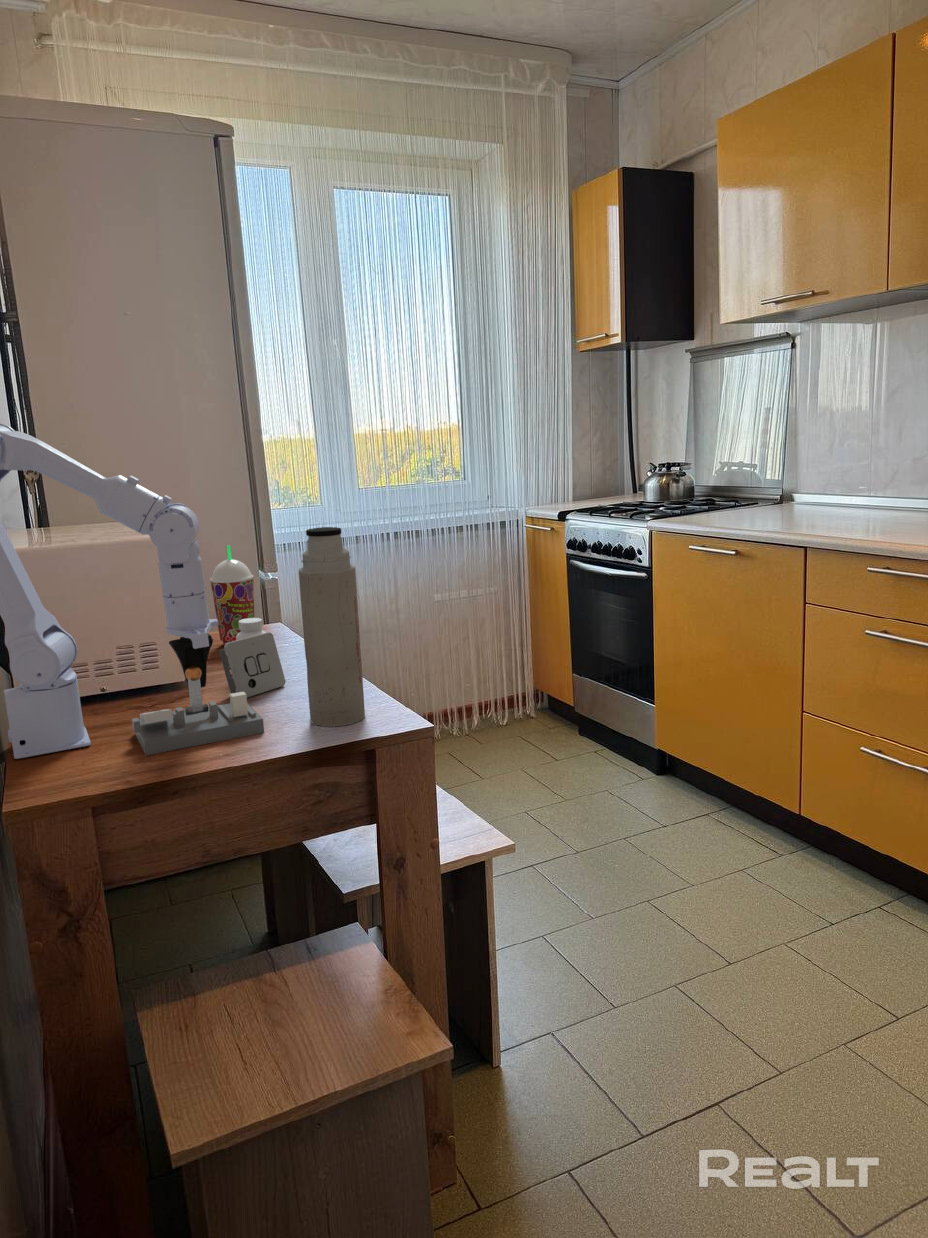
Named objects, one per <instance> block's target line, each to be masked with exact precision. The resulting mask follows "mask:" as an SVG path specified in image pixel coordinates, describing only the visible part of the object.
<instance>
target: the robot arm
mask: <svg viewBox="0 0 928 1238" xmlns="http://www.w3.org/2000/svg"><path fill="white" fill-rule="evenodd" d="M11 471H32V472H33V471H34V472H37V473H39V474H41V475H43V476H46V477H48V478H50V479H51V480H54V481H55V482H57V483H59V484H62V485H65V486H67V487H68V488H70V489H72V490H74V491H77V492H80V493H81V494H83V495H85V496H87V497H90V498H92V499H93V500H94V502H95V504H96V506H97V509H98V512H99V513H100V514H103V515H104V516H106V517H108V518H109V519H111V520H114V521H115V522H117V523H119V524H122V525H123V526H125V527H127V528H129V529H131V530H133V531H135V532H136V533H139V534H140V535H143V536H145V535H148V536H149V538H150V541H151V542H152V544H153V545H154V546H155V547H156V549H157V557H158V563H157V564H158V571H159V573H158V574H159V579H160V585H161V592H162V600H163V607H164V613H165V621H166V626H165V632H166V634H168V635H171V636H176V637H179V639H178V638H177V639H172V640H169V641H168V645H170V647H171V648H172V649H173V651H174V653H175V655H176V657H177V658H178V660H179V663H180V665H181V668H182V672H183V675H184V679H185V681H186V684H187V685H188V679H187V678H186V676H185V671H186V669H187V668H188V667H190V666H193V665H194V666H198V667H199V668H200V669H201V671H202V675H201V677H200V684H201V688H204V687H206V686H207V665H208V657H209V654H210V650H211V649H212V645H213V643H214V642H213V641H214V639H213V637H212V635H211V634H209V632H210V631H211V629H212V628H213V627H216V626H217V627H218V625H219V621H218V620H217V618H210V613H209V606H208V599H207V591H206V589H207V588H206V582H205V576H204V574H205V573H204V568H203V560H202V557H201V555H200V552H201V549H200V545H199V541H198V540H197V539H196V538H197V537H198V535H199V532H200V521H199V518H198V516H197V514H196V513H195V512H194V511H193V510H192V509H190V508H189V507H188V506H187V505H186V504H184V503H177V502H176V503H172V501H173V498H172V497H170V496H168V495H164V496H161V495H159V494H157V493H155V492H154V491H151V490H149V489H148V488H146V487H144V486H142V485H140V484H139V483H140V479H139V478H137V477H135V476H133V475H129V476H128V477H126V476H123V475H121V474H120V475H114V476H111V477H105V476H104V475H101V474H100V473H98V472H96V471H95V470H92V469H91V468H90V467H87V466H85V465H84V464H82V463H81V462H79V461H78V460H75V459H74V458H72V457H70V456H68V455H67V454H65V453H64V452H61V451H60V450H58V449H56V448H54V447H53V446H51V445H49V444H48V443H46V442H44V441H42V440H40V439H38V438H37V437H34V436H33V435H30V434H28V433H25V432H22V431H17V430H15V429H13V428H12V427H11V426H9V425H7V424H4V423H0V483H1V481H2V480H3V478H4V477H6V476H7V475H8V474H10V472H11ZM0 617H1V619H2V622H3V623H4V627H5V628H4V631H5V632H4V645H5V647H6V648H7V651H8V654H9V670H10V673H11V674H12V677H13V678H14V679H15V680H16V681H17V682H18V686H15V687H12V688H7V689H4V690H3V694H4V701H5V702H4V703H5V707H6V716H7V719H8V720H7V721H8V727H9V729H7V730H6V731H7V735H8V737H7V738H8V741H9V744H10V743H11V745H12V751H13V758H14V759H15V760H18V759H24V758H29V757H35V756H41V755H45V754H51V753H56V752H62V751H66V750H71V749H77V748H82V747H87V746H90V745H91V743H92V742H91V739H90V736H89V734H88V730H87V728H86V727H85V725H84V719H83V712H82V703H81V696H80V691H79V683H78V682H79V681H78V675H77V674H76V672H75V671H74V669H73V667H72V665H73V664H74V663H75V662H76V659H77V657H78V653H79V650H78V644H77V642H76V640H75V639H74V637H73V636H72V635H71V634H70V633H69V632H67V631H66V630H65V629H63V627H62V626H61V624H60V623H59V621H58V619H57V618H56V617H55V615H53V614H52V613H51V612H50V611H49V610H47V609H46V608H45V607H44V605H43V603H42V600H41V598H40V597H39V594H38V593H37V591H36V589H35V587H34V584H33V583H32V581H31V578H30V577H29V575H28V573H27V571H26V568H25V566H24V565H23V563H22V560H21V558H20V556H19V555H18V553H17V551H16V549H15V547H14V544H13V542H12V541H11V538H10V537H9V535H8V533H7V531H6V529H5V527H4V525H3V522H2V520H1V519H0Z"/></svg>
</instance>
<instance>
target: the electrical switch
mask: <svg viewBox="0 0 928 1238" xmlns="http://www.w3.org/2000/svg"><path fill="white" fill-rule="evenodd" d="M223 646H224V645H223ZM218 653H219V657H220V660H221V663H222V667H223V671H224V674H225V677H226V681H227V685H228V689H229V692H230V693H229V694H232V693H238V692H244V693H245V694H246V697H247V699H249V698H250V697H253V696H256V695H259V694H263V693H266V692H269V691H271V690H275V689H278V688H282V687H283V686H285V685H286V682H287V681H286V677H285V674H284V670H283V666H282V664H281V660H280V656H279V652H278V648H277V644H276V641H275V637H274V635H273V633H271V632H269V631H268V632H266V633H263V634H259V635H256V636H252V637H248V638H244V639H240V640H236V641H232V642H228V643H226V644H225V646H224V647H223V648H222V649H219V650H218Z"/></svg>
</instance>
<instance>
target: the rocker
mask: <svg viewBox="0 0 928 1238" xmlns="http://www.w3.org/2000/svg"><path fill="white" fill-rule="evenodd" d="M172 712H173V709H160V710H155V711H149V712H143V713H140V714H139V720H141V723H150V722H156V721H161V720H167V719H172V718H173V714H172Z"/></svg>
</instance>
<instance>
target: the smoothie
mask: <svg viewBox="0 0 928 1238" xmlns="http://www.w3.org/2000/svg"><path fill="white" fill-rule="evenodd" d="M226 547H227V548H226V549H227V559H224V560H223V561H221V562H219V563H218V564H217V565H216V566H215V568H214V569H213V571H212V575H211V576H210V578H209V580H210V585H211V586H210V587H211V591H212V598H213V599H212V600H213V604H214V609H215V616H216V619H217V620H218V621H219V625H218V626H217V628H218V634H219V635H218V636H219V639H220V641H221V642H222V644H223V646H225V644H226V643H228V642H232V641H236V636H237V634H238V633H240V632H241V630H240V629H239V621H240V620H242V619H247V618H256V616H255V591H254V590H255V588H254V584H255V582H254V574H252V572H251V570H250V569H249V567H248V566H247V564H245V563H244V562H242V561H241V560H239V559H238V560H237V559H234V558H233V557H232V550H231V545H227V546H226Z"/></svg>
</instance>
